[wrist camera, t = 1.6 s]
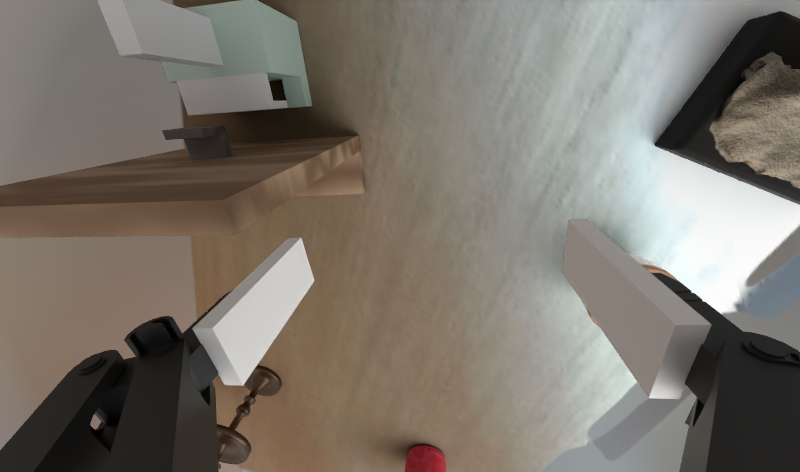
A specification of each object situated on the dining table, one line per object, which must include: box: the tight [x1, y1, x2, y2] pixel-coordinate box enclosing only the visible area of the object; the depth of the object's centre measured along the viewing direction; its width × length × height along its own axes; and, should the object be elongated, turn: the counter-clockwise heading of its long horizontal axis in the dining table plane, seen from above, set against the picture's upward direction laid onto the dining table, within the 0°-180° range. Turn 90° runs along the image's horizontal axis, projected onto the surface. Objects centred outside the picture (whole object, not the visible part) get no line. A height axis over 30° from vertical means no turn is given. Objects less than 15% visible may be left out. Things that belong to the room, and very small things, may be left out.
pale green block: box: [97, 0, 312, 115], centre depth 30 cm, size 9×12×18 cm
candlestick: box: [217, 366, 281, 469], centre depth 50 cm, size 11×11×35 cm
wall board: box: [0, 125, 366, 238], centre depth 30 cm, size 11×24×28 cm, turn 94°
